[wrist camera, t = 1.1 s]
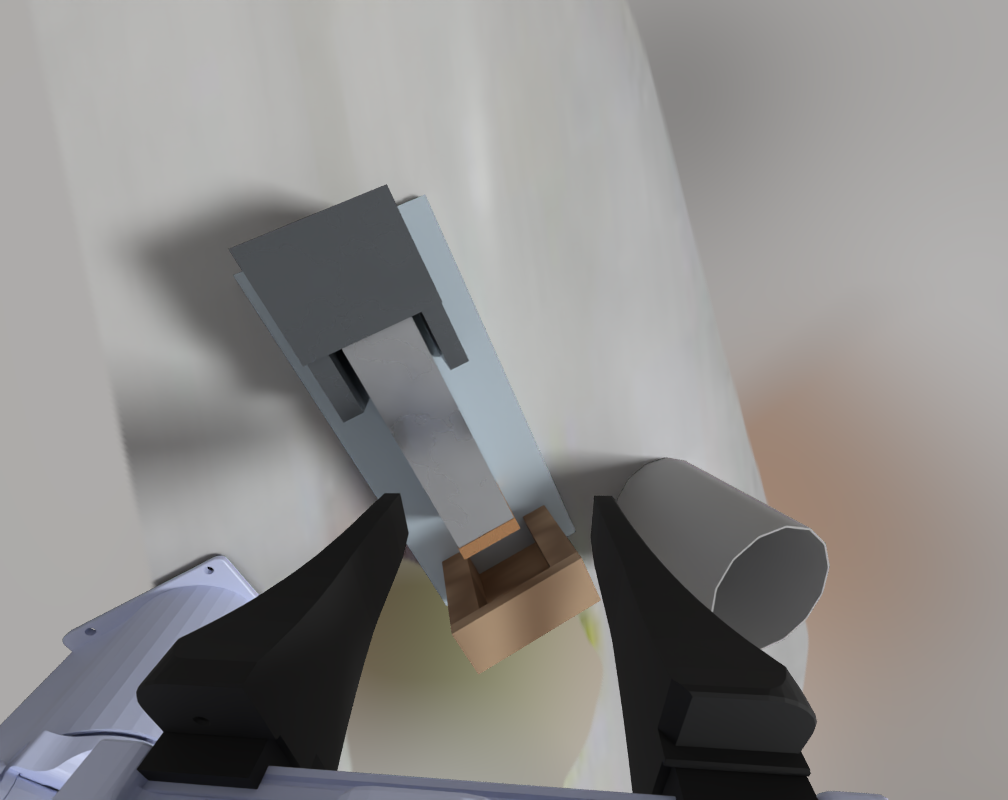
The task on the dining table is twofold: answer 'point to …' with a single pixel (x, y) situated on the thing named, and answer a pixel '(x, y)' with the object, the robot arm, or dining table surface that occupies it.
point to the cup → (728, 548)
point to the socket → (517, 594)
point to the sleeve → (345, 288)
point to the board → (479, 402)
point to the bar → (432, 434)
